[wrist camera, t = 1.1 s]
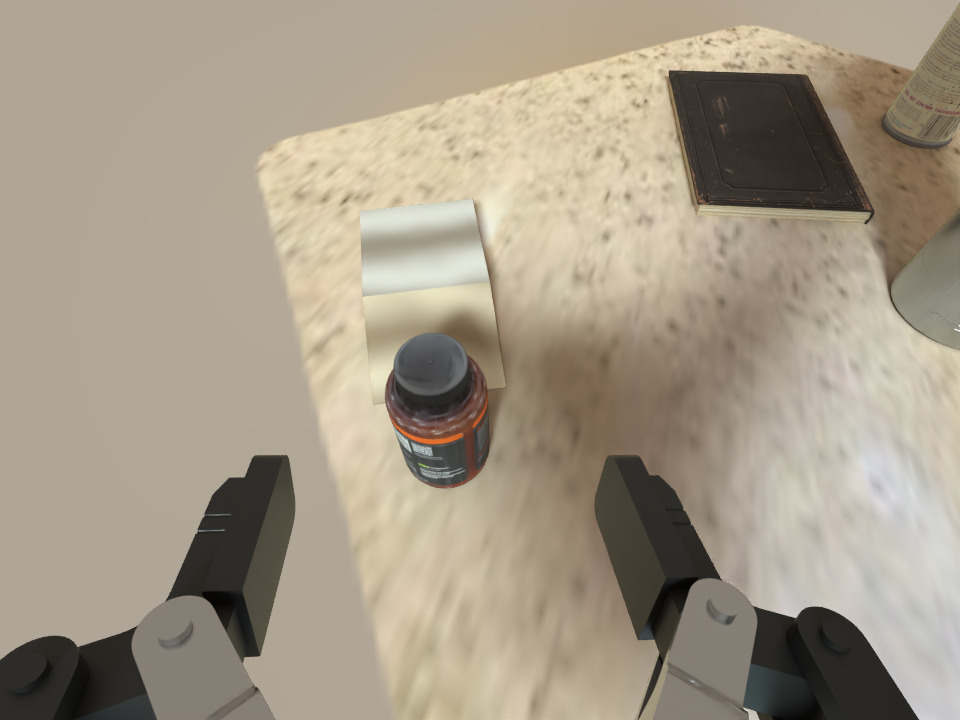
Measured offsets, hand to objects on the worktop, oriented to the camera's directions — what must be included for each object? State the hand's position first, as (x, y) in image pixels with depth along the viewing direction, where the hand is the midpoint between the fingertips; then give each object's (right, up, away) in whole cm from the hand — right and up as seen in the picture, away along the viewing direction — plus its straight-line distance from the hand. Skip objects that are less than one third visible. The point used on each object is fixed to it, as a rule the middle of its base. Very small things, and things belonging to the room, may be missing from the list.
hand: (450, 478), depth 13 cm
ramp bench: (-4, +7, +32) cm, 33 cm away
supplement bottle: (-2, -3, +24) cm, 24 cm away
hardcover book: (+30, +25, +43) cm, 58 cm away
